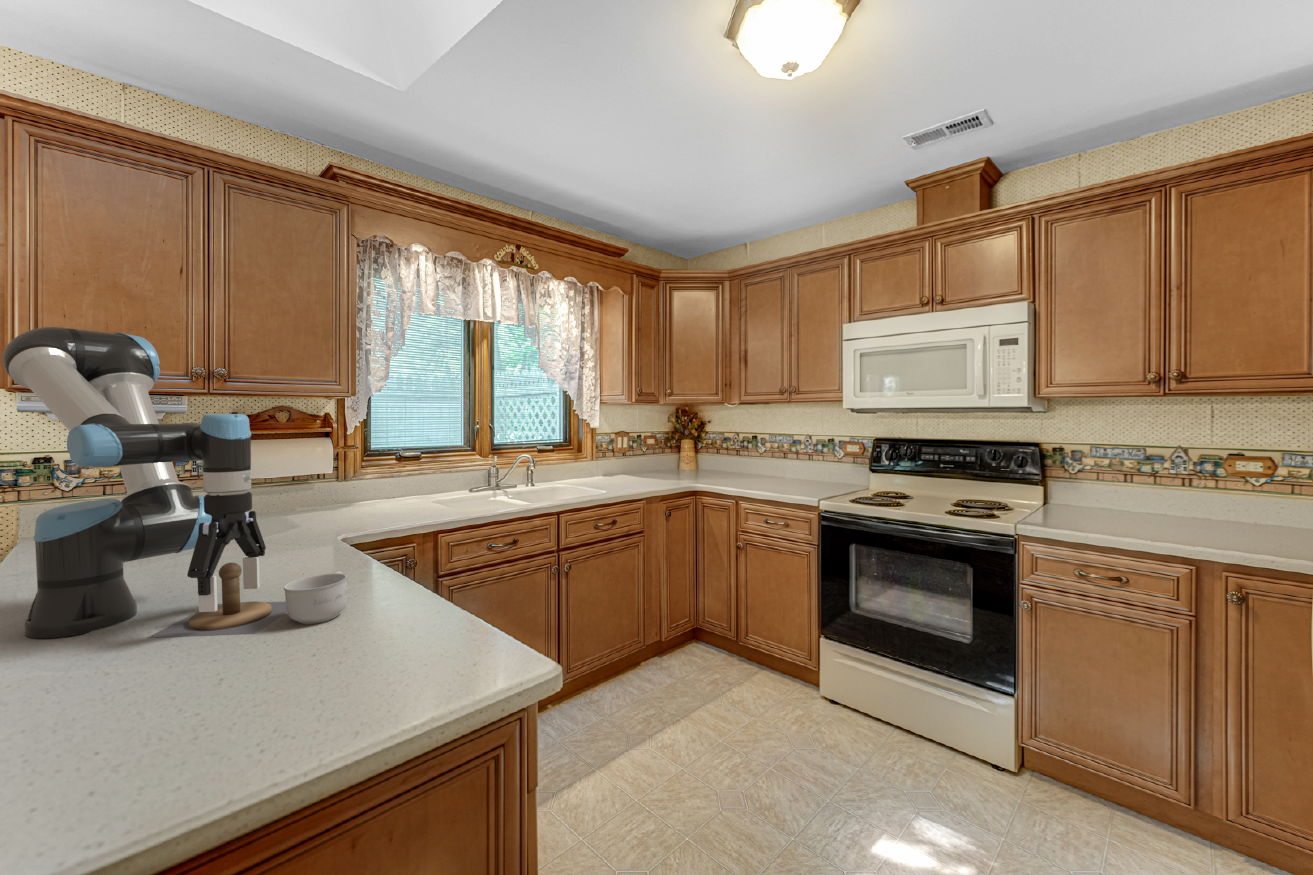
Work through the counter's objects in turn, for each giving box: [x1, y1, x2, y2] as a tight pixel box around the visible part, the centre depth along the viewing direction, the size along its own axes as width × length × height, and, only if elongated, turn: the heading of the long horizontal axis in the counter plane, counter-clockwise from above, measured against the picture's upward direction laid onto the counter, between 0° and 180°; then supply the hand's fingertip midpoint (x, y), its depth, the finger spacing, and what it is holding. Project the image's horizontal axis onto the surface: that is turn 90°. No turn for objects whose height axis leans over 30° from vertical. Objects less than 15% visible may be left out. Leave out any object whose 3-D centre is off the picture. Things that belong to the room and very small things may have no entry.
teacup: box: [283, 570, 349, 625], centre depth 113 cm, size 14×11×8 cm
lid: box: [189, 562, 272, 630], centre depth 111 cm, size 13×13×11 cm
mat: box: [146, 601, 288, 639], centre depth 111 cm, size 18×18×1 cm
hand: (231, 599), depth 111 cm, fingers open, 13 cm apart
